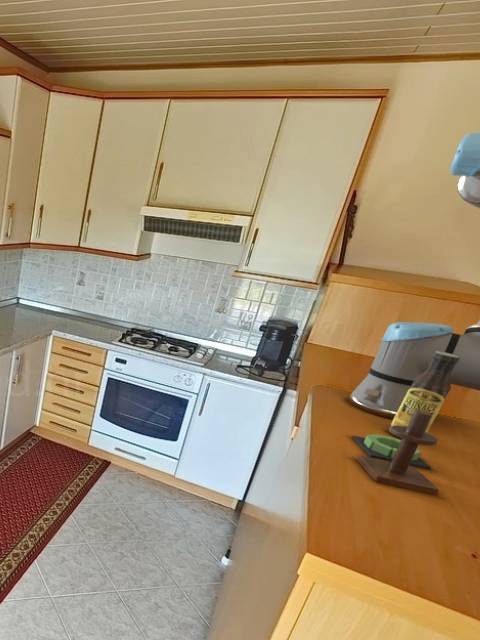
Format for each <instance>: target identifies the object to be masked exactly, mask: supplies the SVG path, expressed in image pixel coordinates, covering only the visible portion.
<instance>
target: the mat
mask: <svg viewBox="0 0 480 640" xmlns="http://www.w3.org/2000/svg"><path fill="white" fill-rule="evenodd" d="M365 438H366V437H364V436H363V437H362V436H357V435H352V439H353V440H354V441H355V442H356V443H357V444H358V445H359V447H360V448H362V450H364V452H366V454H367V455H368V457H371V458H376V459H380V460H385V461H390V462H392V460H393V458H391V457H390V456H385V455H383V454H381V453H378V452H376V451H373V450H371V449H370V448H368V447H367V446H366V445H365V444H364V441H365ZM390 447H391V446H390ZM392 448H393V447H392ZM409 466H413V467H415V468H421V469H425V470H430V471H431V470H432V466H430V465H429V464H428V463H427V462H426V461H425V460H423V458H422V457H420V456H419V458H418V459H417V460H413V461H411V462H410V464H409Z"/></svg>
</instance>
